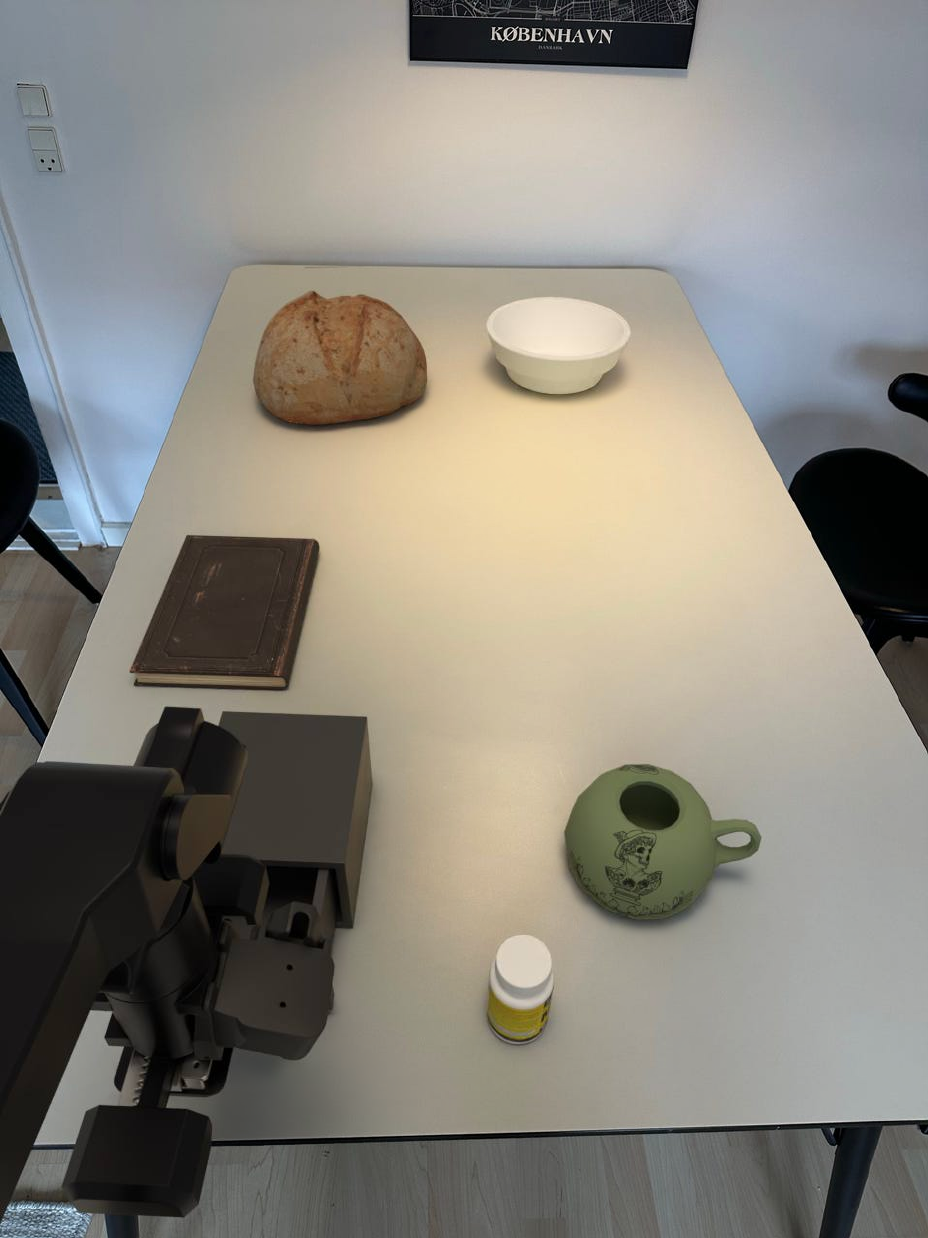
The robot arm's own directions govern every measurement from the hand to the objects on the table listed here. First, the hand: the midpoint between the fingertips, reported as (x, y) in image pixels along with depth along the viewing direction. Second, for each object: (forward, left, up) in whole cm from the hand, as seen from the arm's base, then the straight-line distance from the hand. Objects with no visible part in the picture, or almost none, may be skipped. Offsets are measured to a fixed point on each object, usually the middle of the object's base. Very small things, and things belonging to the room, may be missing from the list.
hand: (206, 1074), depth 55 cm
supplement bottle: (+19, -11, -11) cm, 24 cm away
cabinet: (+19, +13, -11) cm, 25 cm away
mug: (+37, -13, -11) cm, 41 cm away
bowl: (+108, +43, -11) cm, 117 cm away
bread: (+82, +65, -11) cm, 105 cm away
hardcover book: (+37, +40, -11) cm, 56 cm away
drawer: (+11, +8, -10) cm, 16 cm away
